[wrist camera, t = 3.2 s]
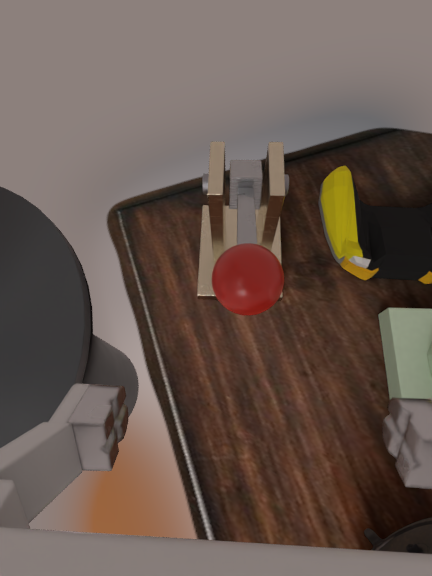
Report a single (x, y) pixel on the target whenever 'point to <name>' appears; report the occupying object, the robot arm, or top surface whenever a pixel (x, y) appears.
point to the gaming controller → (375, 233)
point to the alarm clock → (405, 538)
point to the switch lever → (247, 250)
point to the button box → (407, 351)
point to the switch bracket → (223, 221)
